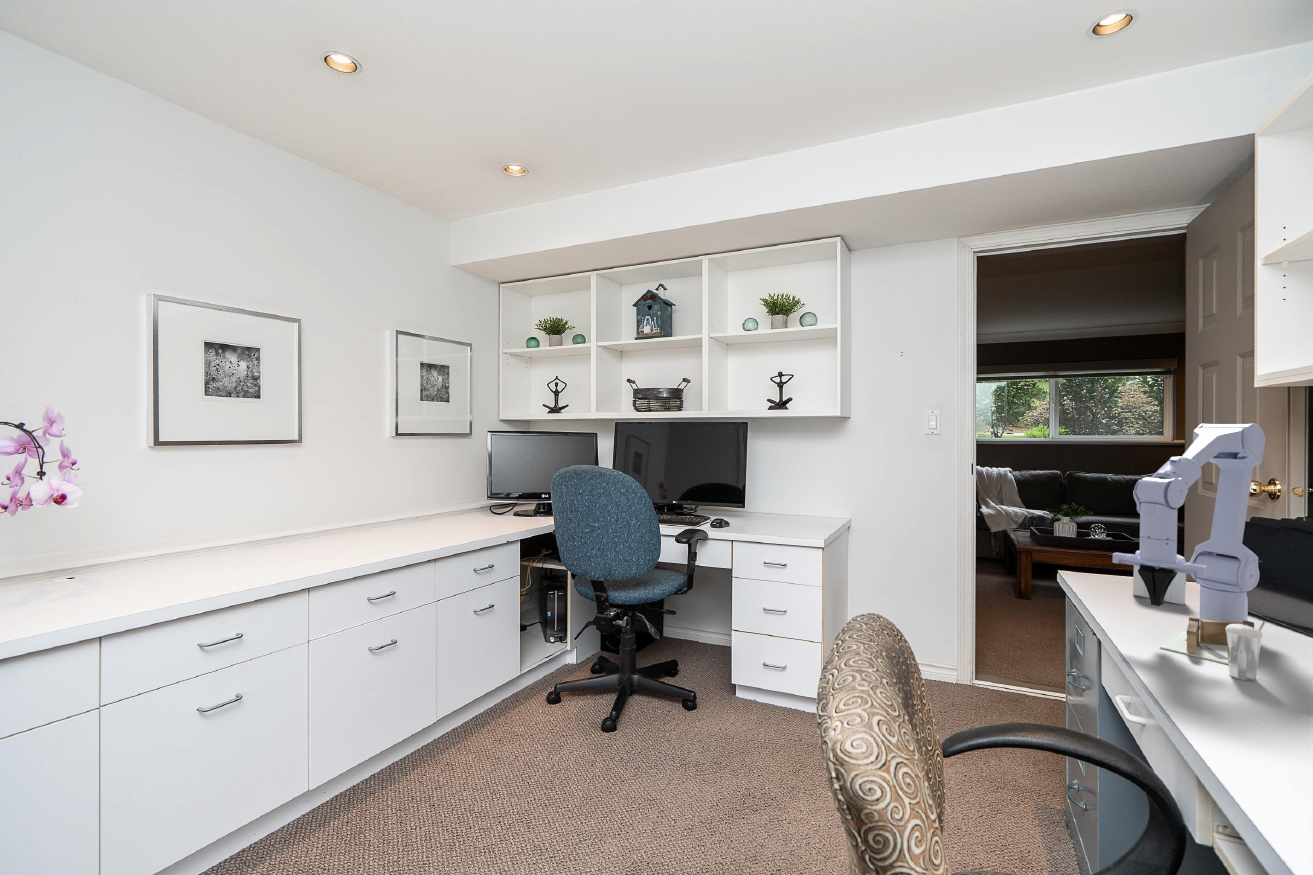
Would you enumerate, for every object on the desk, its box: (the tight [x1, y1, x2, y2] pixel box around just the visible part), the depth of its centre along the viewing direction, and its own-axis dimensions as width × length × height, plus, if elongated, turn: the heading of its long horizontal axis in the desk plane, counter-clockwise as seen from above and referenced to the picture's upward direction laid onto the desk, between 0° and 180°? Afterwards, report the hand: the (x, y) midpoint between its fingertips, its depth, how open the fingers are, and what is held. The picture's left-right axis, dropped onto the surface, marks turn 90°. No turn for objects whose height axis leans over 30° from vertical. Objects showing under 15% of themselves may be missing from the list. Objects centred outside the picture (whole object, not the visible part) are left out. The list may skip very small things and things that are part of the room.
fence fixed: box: [1188, 616, 1255, 645], centre depth 118 cm, size 2×10×5 cm, turn 75°
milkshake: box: [1225, 621, 1266, 682], centre depth 103 cm, size 4×5×10 cm
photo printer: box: [1132, 549, 1187, 605], centre depth 149 cm, size 10×4×12 cm, turn 35°
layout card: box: [1159, 630, 1229, 666], centre depth 117 cm, size 16×11×1 cm
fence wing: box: [1186, 620, 1198, 653], centre depth 115 cm, size 8×1×4 cm, turn 135°
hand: (1156, 604), depth 120 cm, fingers closed
